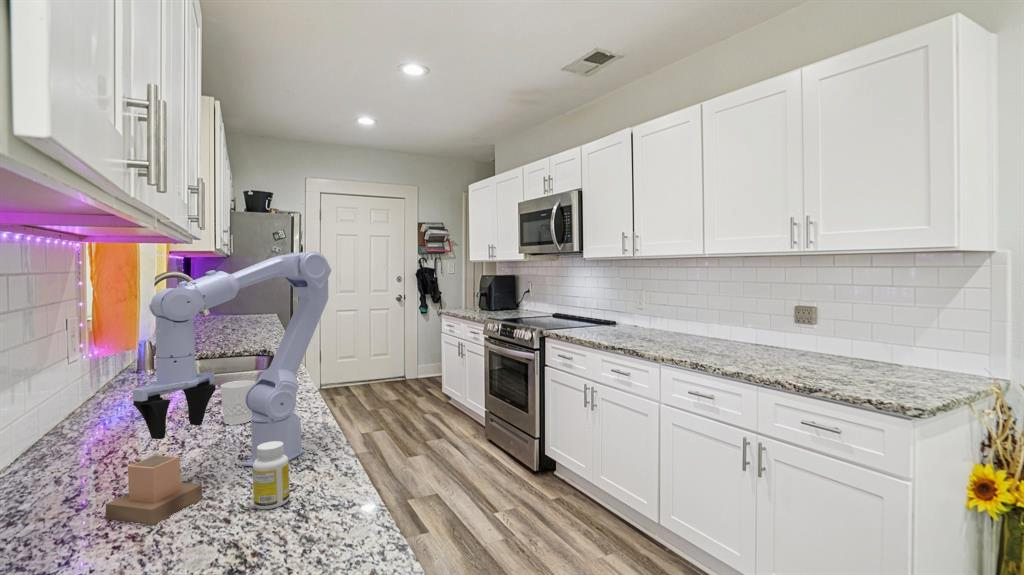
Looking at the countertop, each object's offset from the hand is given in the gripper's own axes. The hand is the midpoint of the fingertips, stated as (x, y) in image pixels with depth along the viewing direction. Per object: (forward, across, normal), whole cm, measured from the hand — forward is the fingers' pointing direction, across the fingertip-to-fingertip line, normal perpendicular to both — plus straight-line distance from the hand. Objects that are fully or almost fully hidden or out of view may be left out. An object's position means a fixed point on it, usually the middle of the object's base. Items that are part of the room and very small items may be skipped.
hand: (177, 431), depth 87 cm
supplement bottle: (+11, -1, -20) cm, 23 cm away
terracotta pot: (+8, -7, -3) cm, 11 cm away
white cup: (+11, +36, +20) cm, 43 cm away
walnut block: (+11, -7, -3) cm, 13 cm away
